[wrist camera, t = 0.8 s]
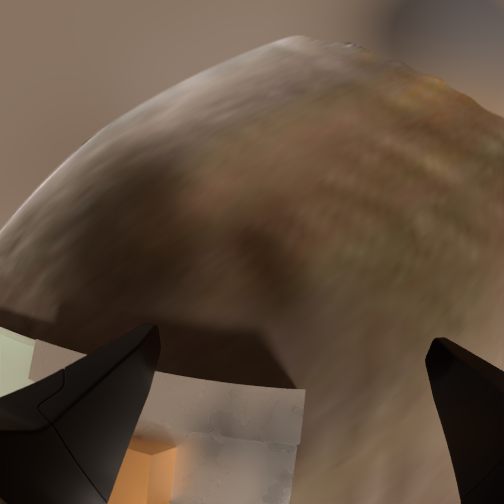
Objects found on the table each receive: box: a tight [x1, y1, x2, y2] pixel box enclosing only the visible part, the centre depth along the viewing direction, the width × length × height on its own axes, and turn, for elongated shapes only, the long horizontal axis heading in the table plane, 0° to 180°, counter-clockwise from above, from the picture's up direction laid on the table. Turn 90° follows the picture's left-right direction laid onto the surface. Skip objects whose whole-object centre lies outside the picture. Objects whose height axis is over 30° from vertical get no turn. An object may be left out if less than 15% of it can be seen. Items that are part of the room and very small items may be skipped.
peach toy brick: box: [107, 436, 176, 504], centre depth 13 cm, size 4×4×4 cm
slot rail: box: [28, 339, 305, 504], centre depth 15 cm, size 13×18×5 cm
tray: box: [0, 327, 36, 397], centre depth 18 cm, size 13×11×2 cm
